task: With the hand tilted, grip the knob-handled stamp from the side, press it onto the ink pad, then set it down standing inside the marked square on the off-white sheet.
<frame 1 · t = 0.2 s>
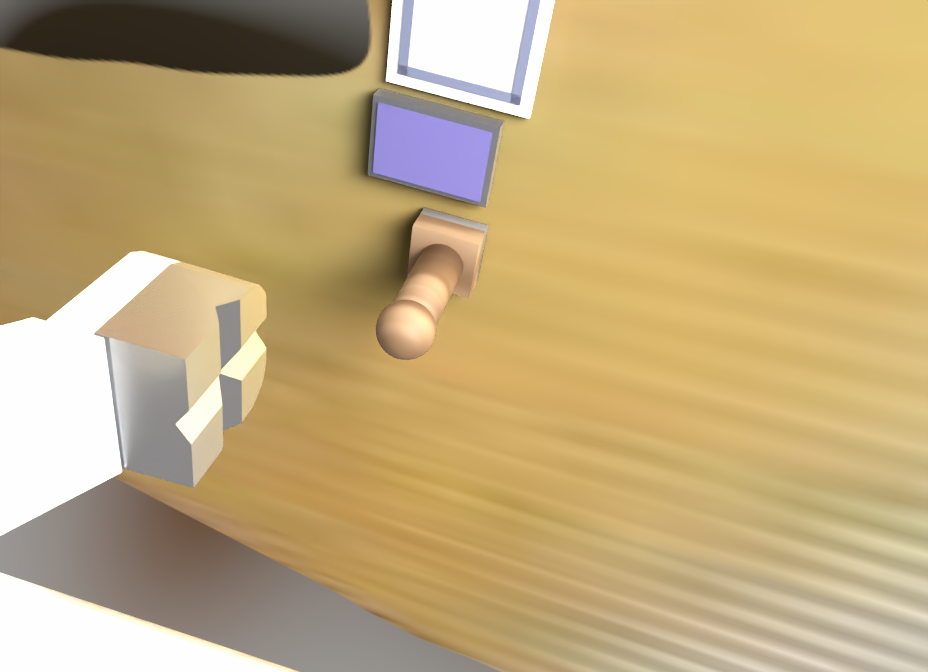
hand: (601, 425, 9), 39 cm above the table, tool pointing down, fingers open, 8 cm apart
ink pad: (435, 145, 52), on the table
print sheet: (468, 24, 47), on the table
stamp: (451, 243, 57), on the table
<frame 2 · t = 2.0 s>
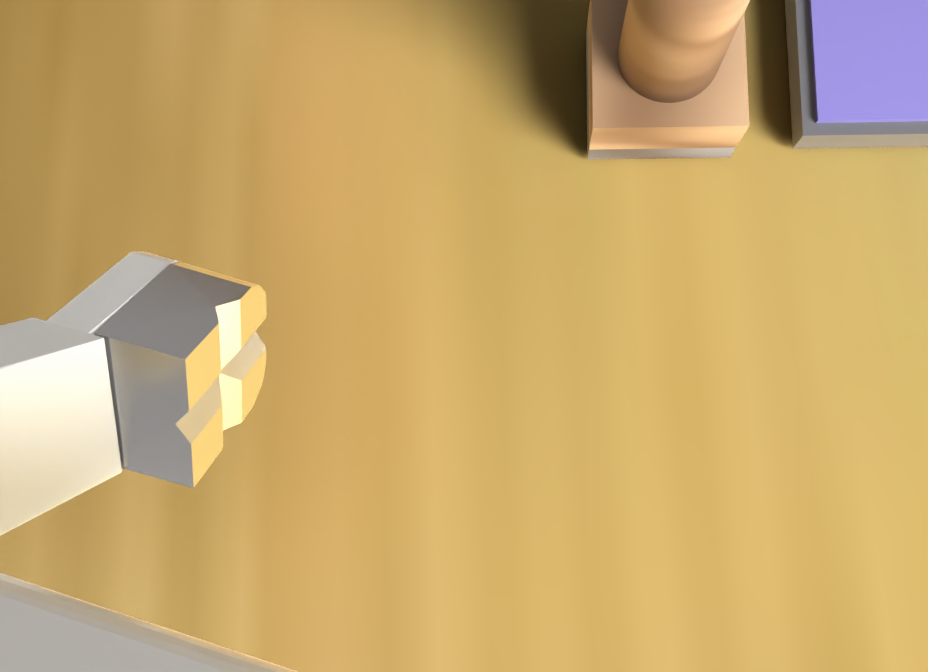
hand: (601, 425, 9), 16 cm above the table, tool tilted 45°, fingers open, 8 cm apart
ink pad: (875, 29, 27), on the table
stamp: (656, 92, 27), on the table
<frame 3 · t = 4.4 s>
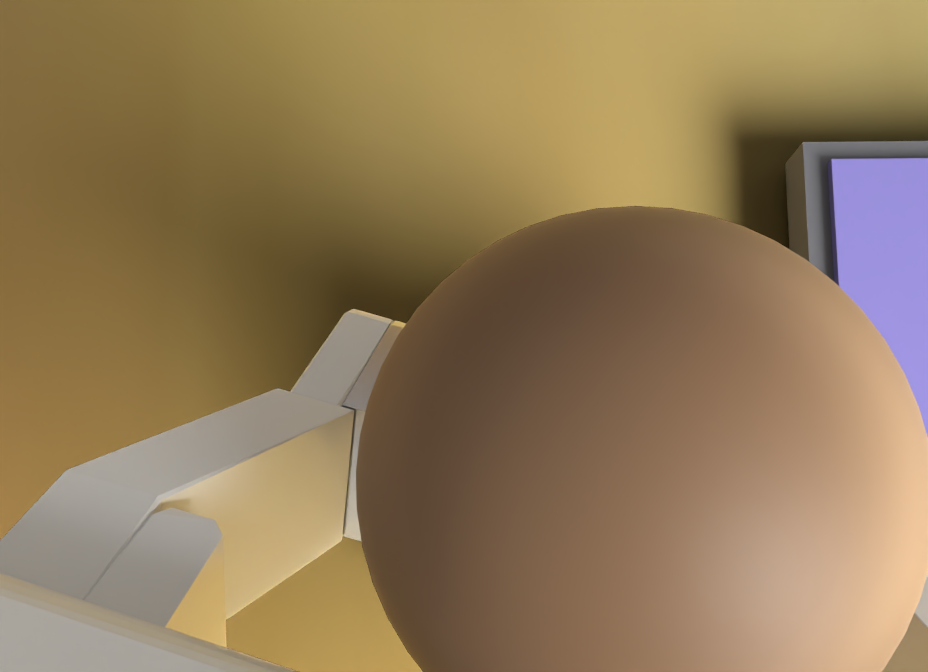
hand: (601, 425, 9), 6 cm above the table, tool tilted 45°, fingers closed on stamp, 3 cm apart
stamp: (561, 481, 15), on the table, touching gripper
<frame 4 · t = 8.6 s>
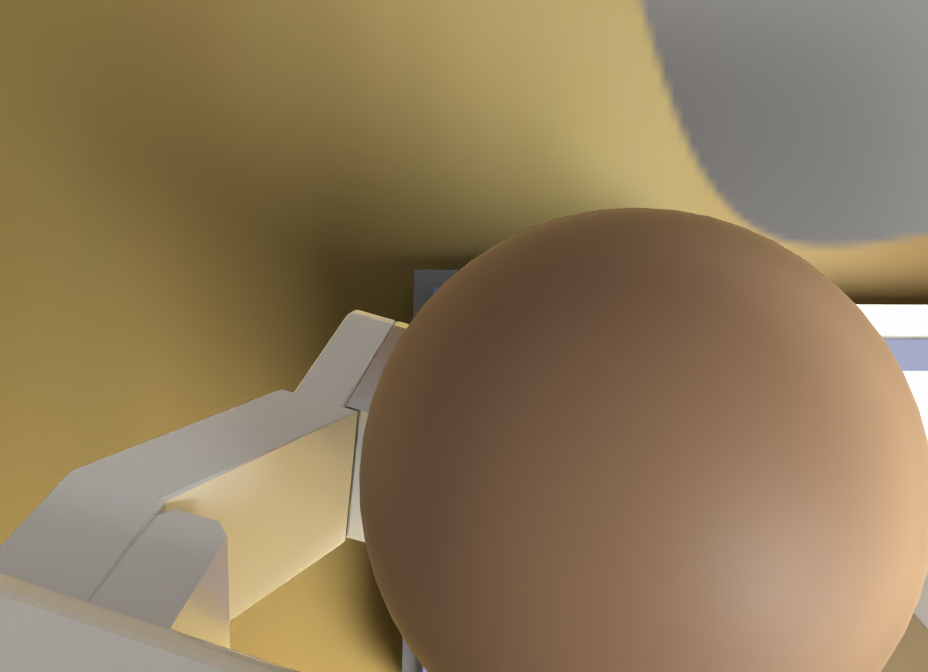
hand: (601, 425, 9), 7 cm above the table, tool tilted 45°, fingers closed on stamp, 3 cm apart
ink pad: (557, 481, 16), on the table
stamp: (563, 482, 15), point 1 cm above the table, touching gripper
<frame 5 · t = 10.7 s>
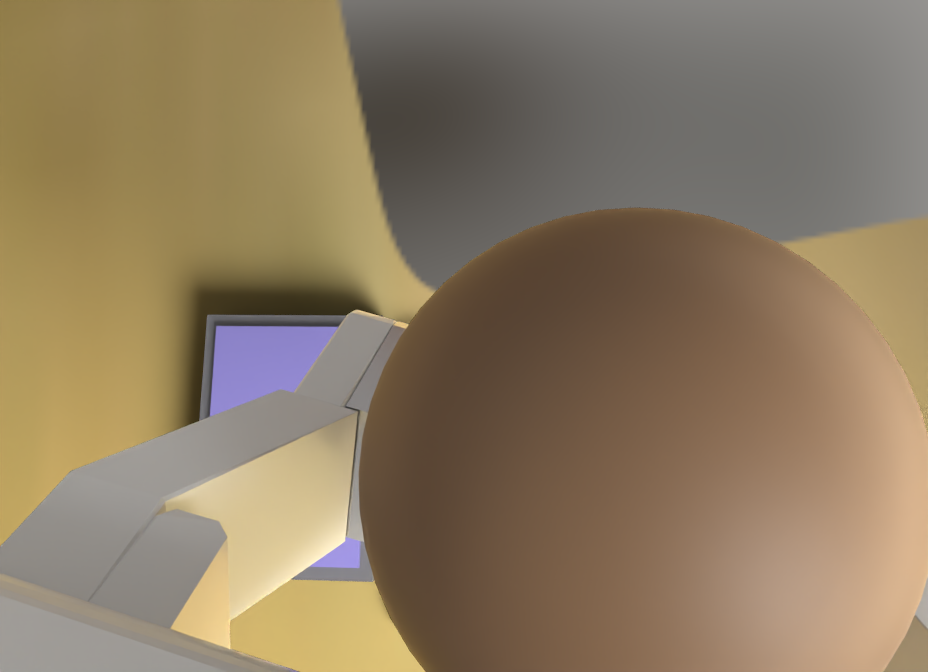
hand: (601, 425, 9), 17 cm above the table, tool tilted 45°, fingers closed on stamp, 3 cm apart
ink pad: (295, 445, 26), on the table
stamp: (563, 482, 15), point 11 cm above the table, touching gripper
when the fingers open (7 cm above the table, at t = 12.6 s): stamp stays where it is, resting on print sheet.
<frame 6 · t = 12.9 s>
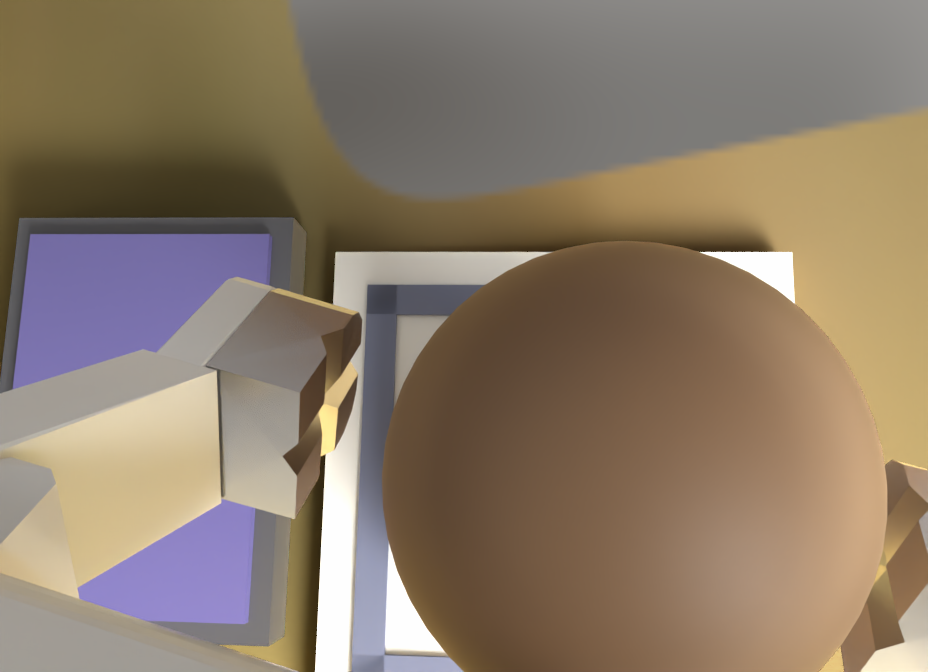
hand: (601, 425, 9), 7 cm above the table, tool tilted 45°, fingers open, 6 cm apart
ink pad: (159, 423, 17), on the table
print sheet: (558, 482, 16), on the table
stamp: (562, 482, 16), resting on print sheet
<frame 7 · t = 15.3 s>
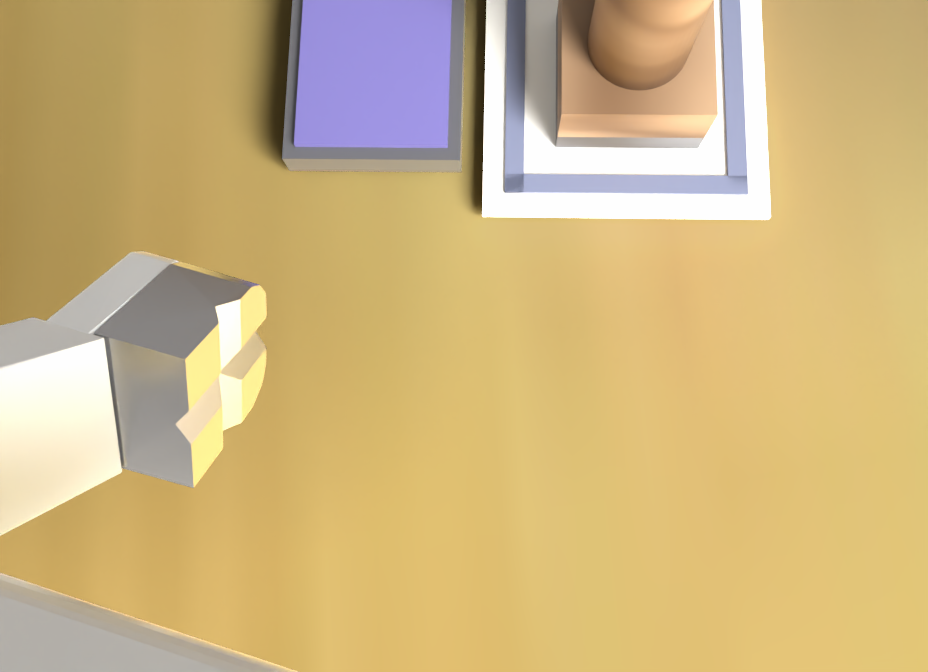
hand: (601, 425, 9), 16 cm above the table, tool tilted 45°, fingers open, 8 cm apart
ink pad: (380, 57, 28), on the table
print sheet: (622, 86, 27), on the table
stamp: (625, 82, 27), resting on print sheet
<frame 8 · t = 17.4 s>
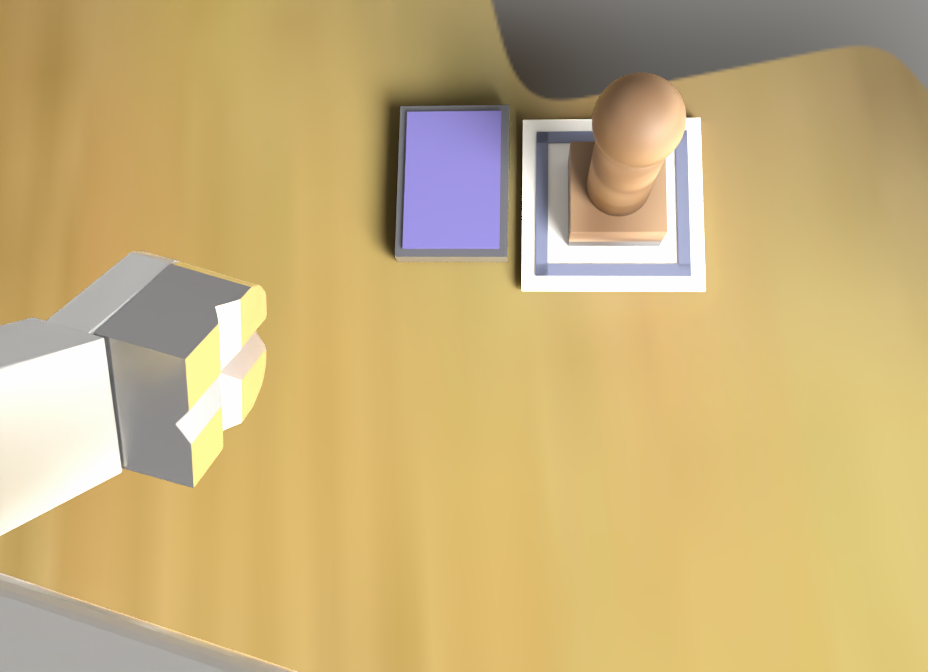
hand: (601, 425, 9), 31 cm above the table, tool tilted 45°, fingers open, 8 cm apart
ink pad: (454, 186, 43), on the table
print sheet: (611, 204, 42), on the table
stamp: (613, 202, 42), resting on print sheet
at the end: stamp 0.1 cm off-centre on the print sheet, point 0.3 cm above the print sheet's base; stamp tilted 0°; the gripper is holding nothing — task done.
